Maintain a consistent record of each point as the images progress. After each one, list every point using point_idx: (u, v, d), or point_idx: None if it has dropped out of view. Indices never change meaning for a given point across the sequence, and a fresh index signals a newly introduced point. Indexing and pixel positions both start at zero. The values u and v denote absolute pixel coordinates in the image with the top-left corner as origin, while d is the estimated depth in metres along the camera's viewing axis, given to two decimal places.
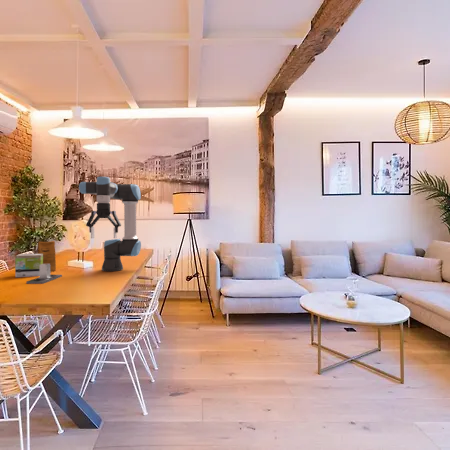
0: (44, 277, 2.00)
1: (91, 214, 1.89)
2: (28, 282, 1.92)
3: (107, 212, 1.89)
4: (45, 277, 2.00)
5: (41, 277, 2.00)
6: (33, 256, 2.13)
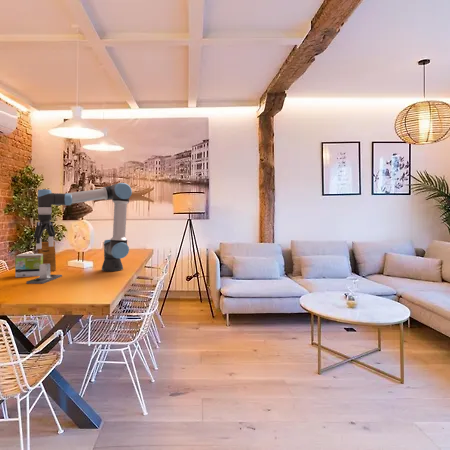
0: (44, 277, 2.00)
1: None
2: (28, 282, 1.92)
3: None
4: (45, 277, 2.00)
5: (41, 277, 2.00)
6: (33, 256, 2.13)
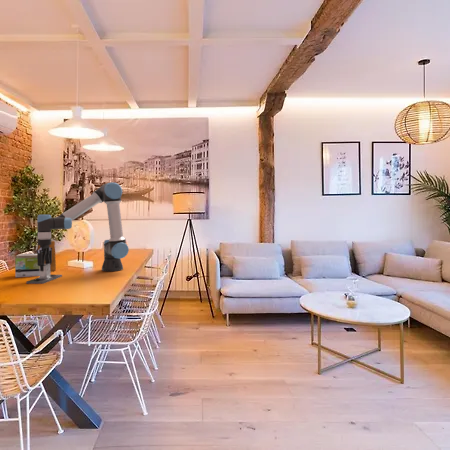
0: (44, 277, 2.00)
1: None
2: (28, 282, 1.92)
3: None
4: (45, 277, 2.00)
5: (41, 277, 2.00)
6: (33, 256, 2.13)
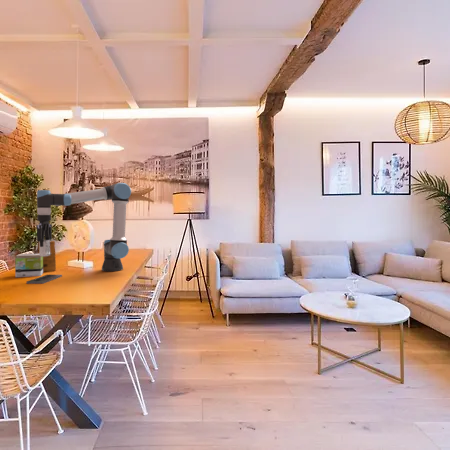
0: (44, 253, 2.00)
1: None
2: (28, 282, 1.92)
3: None
4: (45, 253, 2.00)
5: (41, 253, 2.00)
6: (33, 256, 2.13)
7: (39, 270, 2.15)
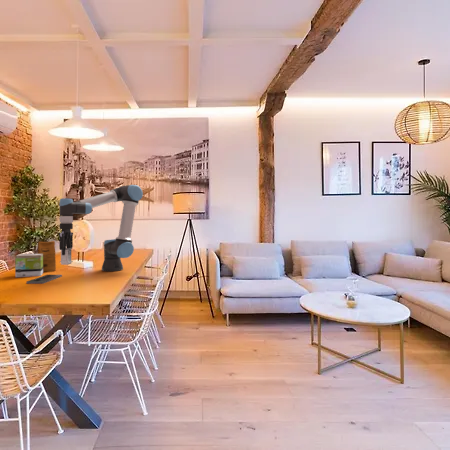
0: (65, 261, 2.00)
1: None
2: (28, 282, 1.92)
3: None
4: (66, 261, 2.00)
5: (62, 261, 2.00)
6: (33, 256, 2.13)
7: (39, 270, 2.15)
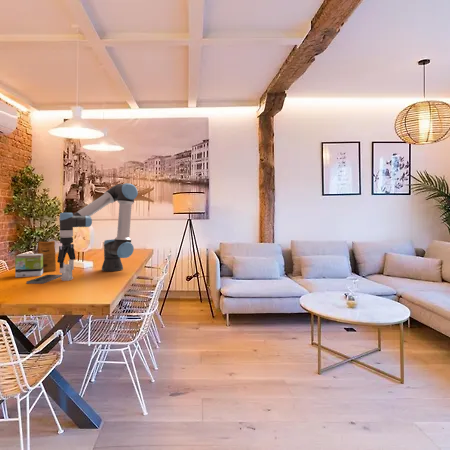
0: (66, 278, 2.00)
1: None
2: (28, 282, 1.92)
3: None
4: (67, 278, 2.00)
5: (63, 278, 2.00)
6: (33, 256, 2.13)
7: (39, 270, 2.15)
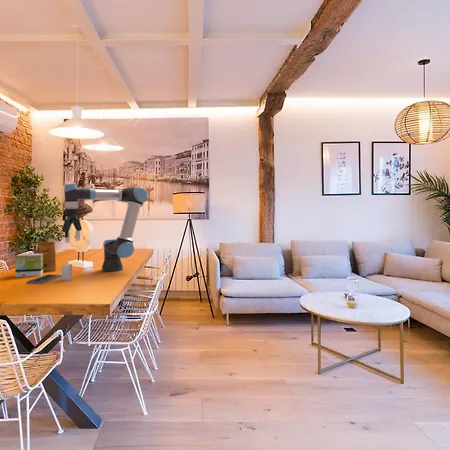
0: (66, 278, 2.00)
1: None
2: (28, 282, 1.92)
3: None
4: (67, 278, 2.00)
5: (63, 278, 2.00)
6: (33, 256, 2.13)
7: (39, 270, 2.15)
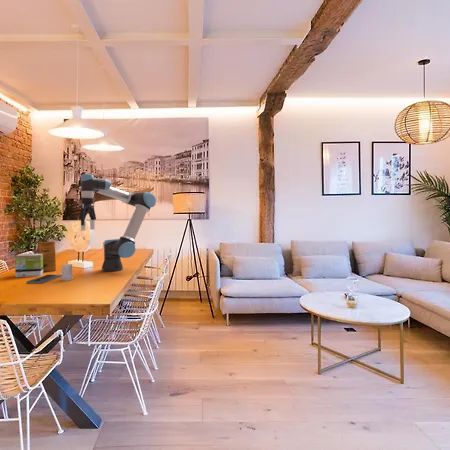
0: (66, 278, 2.00)
1: None
2: (28, 282, 1.92)
3: None
4: (67, 278, 2.00)
5: (63, 278, 2.00)
6: (33, 256, 2.13)
7: (39, 270, 2.15)
